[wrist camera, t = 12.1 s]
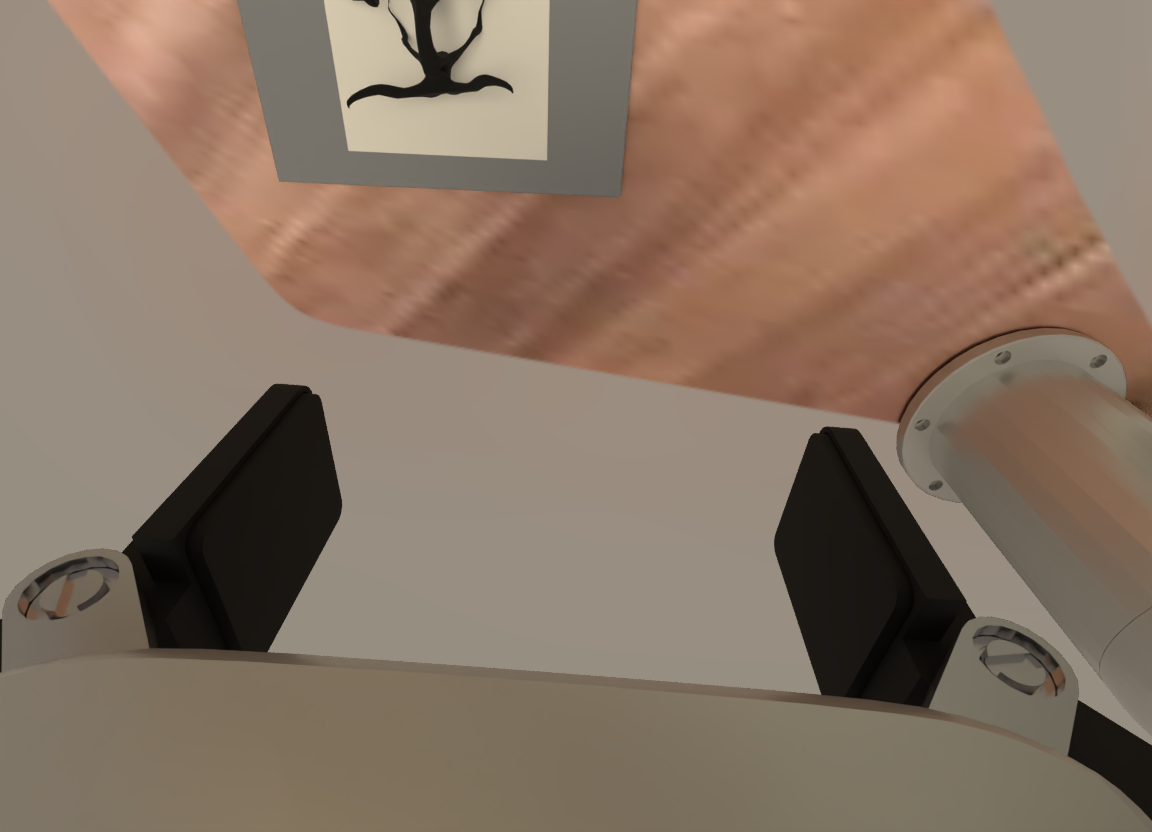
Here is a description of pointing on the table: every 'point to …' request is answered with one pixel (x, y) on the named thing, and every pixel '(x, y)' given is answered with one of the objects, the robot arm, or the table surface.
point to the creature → (430, 61)
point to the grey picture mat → (447, 122)
